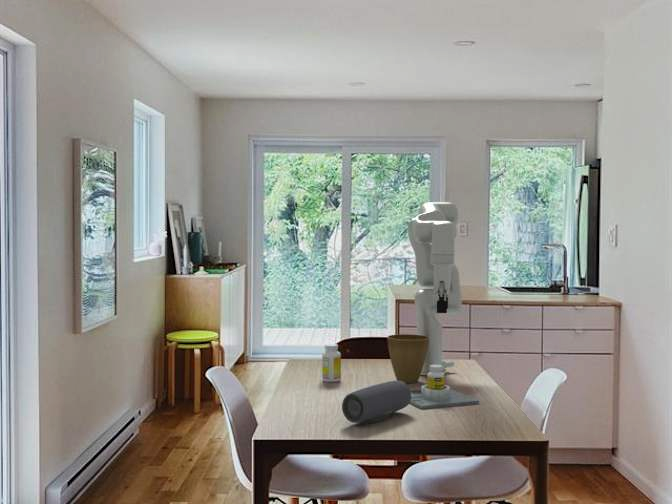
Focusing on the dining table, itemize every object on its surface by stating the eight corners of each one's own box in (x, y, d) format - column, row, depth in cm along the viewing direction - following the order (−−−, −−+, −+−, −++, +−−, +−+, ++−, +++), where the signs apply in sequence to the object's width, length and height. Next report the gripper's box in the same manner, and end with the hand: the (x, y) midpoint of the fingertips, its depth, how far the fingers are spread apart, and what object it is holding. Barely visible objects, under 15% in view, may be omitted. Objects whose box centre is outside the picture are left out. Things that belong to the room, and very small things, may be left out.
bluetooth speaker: (387, 409, 237) (387, 376, 237) (412, 414, 232) (412, 380, 231) (340, 424, 220) (339, 389, 220) (366, 430, 214) (366, 394, 214)
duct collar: (448, 390, 263) (448, 378, 263) (479, 403, 244) (479, 390, 244) (394, 395, 256) (394, 383, 256) (421, 409, 237) (421, 396, 237)
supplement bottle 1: (341, 378, 283) (341, 343, 283) (340, 382, 277) (340, 346, 276) (323, 378, 284) (323, 343, 284) (321, 382, 277) (321, 346, 277)
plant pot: (415, 387, 268) (415, 341, 268) (379, 382, 277) (379, 337, 277) (436, 380, 280) (436, 335, 279) (401, 375, 289) (401, 332, 288)
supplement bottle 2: (434, 398, 246) (434, 368, 246) (423, 395, 251) (423, 365, 251) (447, 396, 249) (447, 366, 249) (436, 393, 254) (437, 363, 254)
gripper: (433, 257, 268) (432, 306, 269) (429, 261, 251) (429, 314, 253) (455, 257, 267) (454, 307, 268) (453, 261, 250) (452, 315, 251)
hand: (442, 310), depth 260 cm, fingers open, 9 cm apart
